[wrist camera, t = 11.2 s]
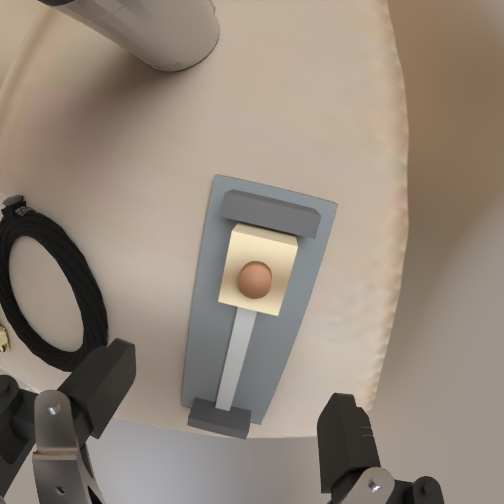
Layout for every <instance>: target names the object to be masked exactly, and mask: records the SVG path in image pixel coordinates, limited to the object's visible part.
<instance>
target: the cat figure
mask: <svg viewBox="0 0 504 504" xmlns="http://www.w3.org/2000/svg"><path fill="white" fill-rule="evenodd" d="M4 330H5V328H3V327H2V326H0V351H3V352H5V351H6V348H9V343H8V338H7V336H6V334H7V332H6V331H4ZM7 351H8V352H9V349H7Z"/></svg>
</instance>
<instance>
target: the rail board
mask: <svg viewBox="0 0 504 504" xmlns="http://www.w3.org/2000/svg"><path fill="white" fill-rule="evenodd" d="M337 206H338V204H337V203H335V202H331V201H328V200H324V199H320V198H317V197H313V196H309V195H305V194H301V193H298V192H294V191H290V190H286V189H281V188H277V187H273V186H269V185H265V184H260V183H256V182H251V181H247V180H242V179H237V178H233V177H228V176H223V175H214V180H213V185H212V190H211V195H210V200H209V206H208V211H207V216H206V222H205V227H204V233H203V239H202V245H201V250H200V256H199V263H198V269H197V275H196V282H195V289H194V295H193V302H192V310H191V317H190V325H189V333H188V341H187V349H186V358H185V367H184V377H183V387H182V398H181V406H185V407H188V408H191V411H190V414H189V416H188V424H187V425H189V426H192V427H196V428H199V429H203V430H207V431H211V432H215V433H219V434H223V435H227V436H232V437H237V438H241V439H246V437H247V435H248V432H249V426H250V423H254V424H259V425H261V423H262V420H263V418H264V416H265V414H266V411H267V409H268V407H269V404H270V402H271V400H272V397H273V395H274V392H275V390H276V388H277V385H278V383H279V380H280V378H281V375H282V373H283V370H284V368H285V365H286V362H287V360H288V357H289V355H290V352H291V349H292V347H293V344H294V341H295V339H296V336H297V333H298V330H299V328H300V325H301V322H302V319H303V316H304V314H305V311H306V308H307V305H308V302H309V299H310V296H311V293H312V290H313V287H314V284H315V281H316V278H317V274H318V271H319V268H320V265H321V262H322V258H323V255H324V252H325V248H326V245H327V242H328V238H329V235H330V231H331V228H332V224H333V221H334V217H335V213H336V210H337ZM239 221H242V222H246V223H250V224H255V225H259V226H263V227H267V228H271V229H276V230H280V231H284V232H288V233H292V234H295V235H296V239H297V244H298V249H297V253H296V256H295V260H294V263H293V267H292V270H291V274H290V277H289V281H288V284H287V288H286V291H285V294H284V298H283V301H282V304H281V308H280V311H279V314H278V316H276V315H271V314H267V313H262V312H258V311H254V310H250V309H246V308H241V307H237V306H233V305H229V304H225V303H222V302H218V299H219V294H220V288H221V283H222V278H223V273H224V268H225V263H226V258H227V253H228V248H229V243H230V238H231V233H232V230H233V229H234V228H235V226H236V225H237V224H238V222H239Z"/></svg>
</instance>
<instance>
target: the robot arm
mask: <svg viewBox="0 0 504 504" xmlns="http://www.w3.org/2000/svg"><path fill="white" fill-rule="evenodd" d="M38 1H40V2H42V3H44V4H46V5H49V6H50V7H52V8H54V9H56V10H58V11H60V12H62V13H64V14H66V15H68V16H70V17H72V18H74V19H76V20H77V21H79V22H81V23H83V24H85V25H86V26H88V27H90V28H91V29H93V30H95V31H97V32H98V33H100V34H102V35H103V36H105V37H107V38H108V39H110V40H111V41H113V42H115V43H116V44H118V45H119V46H121V47H122V48H124V49H126V50H127V51H129V52H130V53H132V54H133V55H135V56H136V57H138V58H139V59H141V60H142V61H144V63H146V64H148V65H150V66H151V67H153V68H154V69H157V70H160V71H166V72H171V71H179V70H183V69H186V68H188V67H191V66H193V65H195V64H197V63H198V62H200V61H201V60H203V59H204V58H205V57H206V56H207V55H208V54H209V53H210V52H211V51H212V50H213V48H214V47H215V45H216V43H217V41H218V38H219V35H220V27H219V23H218V20H217V18H216V16H215V14H214V11H215V6H214V4H213V2H212V0H38ZM135 376H136V358H135V345H134V344H132V343H129V342H127V341H124V340H122V339H119V338H116V339H115V340H114V341H113V342H112V343H111V344H110V345H109V346H108V347H106V346H104V345H102V346H100V347H98V348H96V349H94V350H92V351H91V352H90V353H89V354H88V355H87V357H86V358H85V360H83V361H82V362H81V363H80V365H79V366H78V367H77V368H76V369H75V370H74V371H73V372H72V373H71V374H70V376H69V377H68V378H67V379H66V380H65V381H64V382H63V384H62V385H61V386H60V387H59V388H58V389H57V390H46V391H43V392H41V393H40V394H36V393H33V392H29V391H26V390H23V389H20V388H19V386H18V383H17V382H16V380H15V379H14V378H13V377H11V376H9V375H0V504H6V503H5V501H4V499H3V498H4V496H5V494H6V492H7V491H8V489H9V487H10V485H11V483H12V481H13V480H14V478H15V476H16V474H17V473H18V471H19V469H20V467H21V466H22V464H23V462H24V461H25V459H26V457H27V456H28V454H29V452H30V451H31V449H32V447H33V446H34V444H35V443H36V445H37V451H36V452H33V455H32V462H33V469H34V476H35V482H36V488H37V493H38V498H39V502H40V504H105V502H104V499H103V496H102V494H101V492H100V489H99V487H98V485H97V482H96V479H95V476H94V472H93V469H92V465H91V461H90V458H89V454H88V449H87V445H86V440H87V439H88V437H89V436H92V437H94V438H96V439H99V438H100V436H101V434H102V433H103V431H104V429H105V428H106V426H107V424H108V423H109V421H110V419H111V418H112V416H113V415H114V413H115V411H116V410H117V408H118V406H119V405H120V403H121V402H122V400H123V398H124V397H125V395H126V394H127V392H128V390H129V389H130V387H131V386H132V384H133V382H134V379H135ZM317 436H318V448H319V462H320V477H321V493H331V498H332V499H331V500H330V501H329V502H328V503H327V504H444V500H443V495H442V492H441V487H440V485H439V483H438V482H437V481H436V480H435V479H434V478H432V477H429V476H424V477H421V478H419V479H417V480H416V481H415V482H414V483H412V482H405V481H400V480H395V479H394V478H393V476H392V475H391V473H390V472H388V471H387V470H386V469H383V468H381V465H380V460H379V456H378V453H377V448H376V444H375V440H374V437H373V432H372V429H371V424H370V421H369V417H368V415H367V414H366V413H365V411H364V410H363V409H362V407H356V403H355V399H354V396H353V395H352V394H342V393H334V394H333V395H332V396H331V398H330V400H329V401H328V403H327V405H326V406H325V408H324V410H323V411H322V413H321V414H320V416H319V419H318V423H317Z"/></svg>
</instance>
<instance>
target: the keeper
mask: <svg viewBox="0 0 504 504" xmlns="http://www.w3.org/2000/svg"><path fill="white" fill-rule="evenodd" d="M297 249H298V244H297V239H296V235H295V234H292V233H288V232H284V231H280V230H276V229H271V228H267V227H263V226H259V225H255V224H250V223H246V222H242V221H239V222H238V224H237V225H236V226H235V228H234V229H233V230H232V233H231V238H230V243H229V248H228V253H227V258H226V263H225V268H224V273H223V278H222V283H221V288H220V294H219V299H218V302H222V303H225V304H229V305H233V306H237V307H241V308H246V309H250V310H254V311H258V312H262V313H267V314H271V315H276V316H278V314H279V311H280V308H281V304H282V301H283V298H284V294H285V291H286V288H287V284H288V281H289V277H290V274H291V270H292V267H293V263H294V260H295V256H296V253H297Z"/></svg>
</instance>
